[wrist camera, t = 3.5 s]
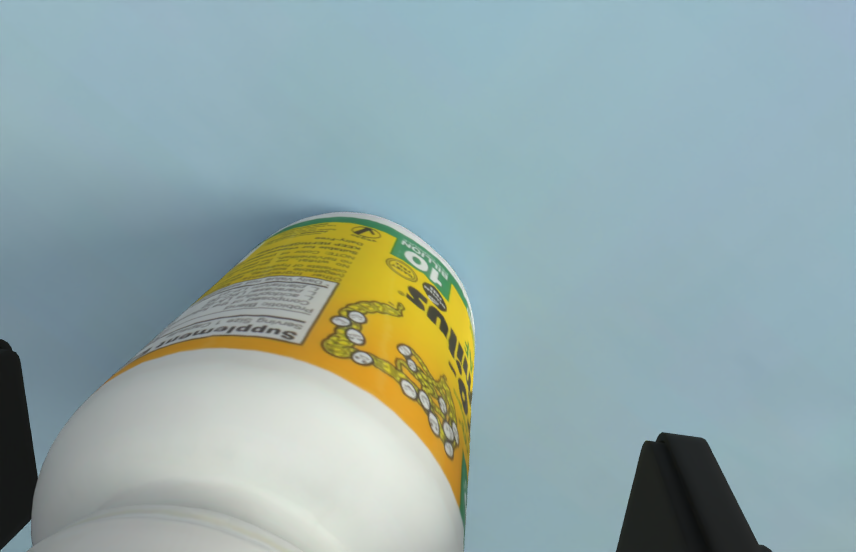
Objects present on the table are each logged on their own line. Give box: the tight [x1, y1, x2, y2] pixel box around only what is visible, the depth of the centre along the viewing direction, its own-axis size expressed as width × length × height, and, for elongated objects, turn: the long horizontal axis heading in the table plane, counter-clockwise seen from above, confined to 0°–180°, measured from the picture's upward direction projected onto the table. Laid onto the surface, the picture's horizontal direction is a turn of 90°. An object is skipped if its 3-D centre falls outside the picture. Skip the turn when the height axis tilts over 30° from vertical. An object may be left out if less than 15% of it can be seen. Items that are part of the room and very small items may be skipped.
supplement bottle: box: [27, 212, 475, 552], centre depth 10 cm, size 5×5×10 cm
